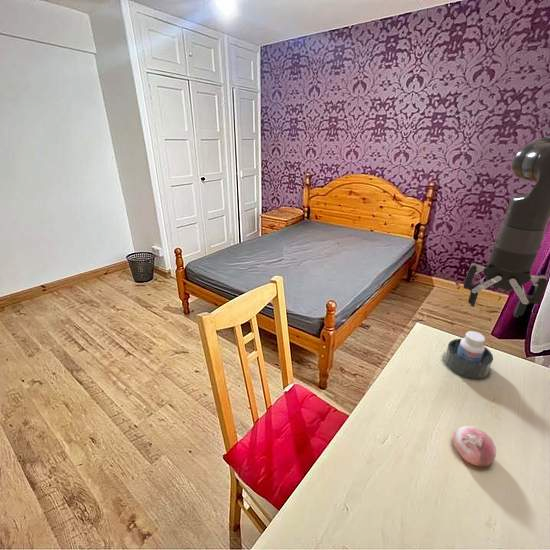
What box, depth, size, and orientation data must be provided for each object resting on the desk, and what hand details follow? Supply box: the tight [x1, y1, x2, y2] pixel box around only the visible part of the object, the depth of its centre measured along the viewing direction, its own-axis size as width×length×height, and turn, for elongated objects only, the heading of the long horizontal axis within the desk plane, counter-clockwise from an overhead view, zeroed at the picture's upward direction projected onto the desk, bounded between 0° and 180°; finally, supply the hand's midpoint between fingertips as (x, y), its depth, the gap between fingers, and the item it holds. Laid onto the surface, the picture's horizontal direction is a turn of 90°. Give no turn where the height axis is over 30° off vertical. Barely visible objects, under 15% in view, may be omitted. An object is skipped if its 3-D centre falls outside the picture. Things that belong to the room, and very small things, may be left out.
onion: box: [452, 425, 497, 467], centre depth 66 cm, size 8×8×7 cm
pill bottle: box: [455, 330, 486, 364], centre depth 88 cm, size 6×6×11 cm
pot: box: [444, 338, 494, 380], centre depth 90 cm, size 11×11×6 cm
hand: (493, 310), depth 71 cm, fingers open, 8 cm apart
